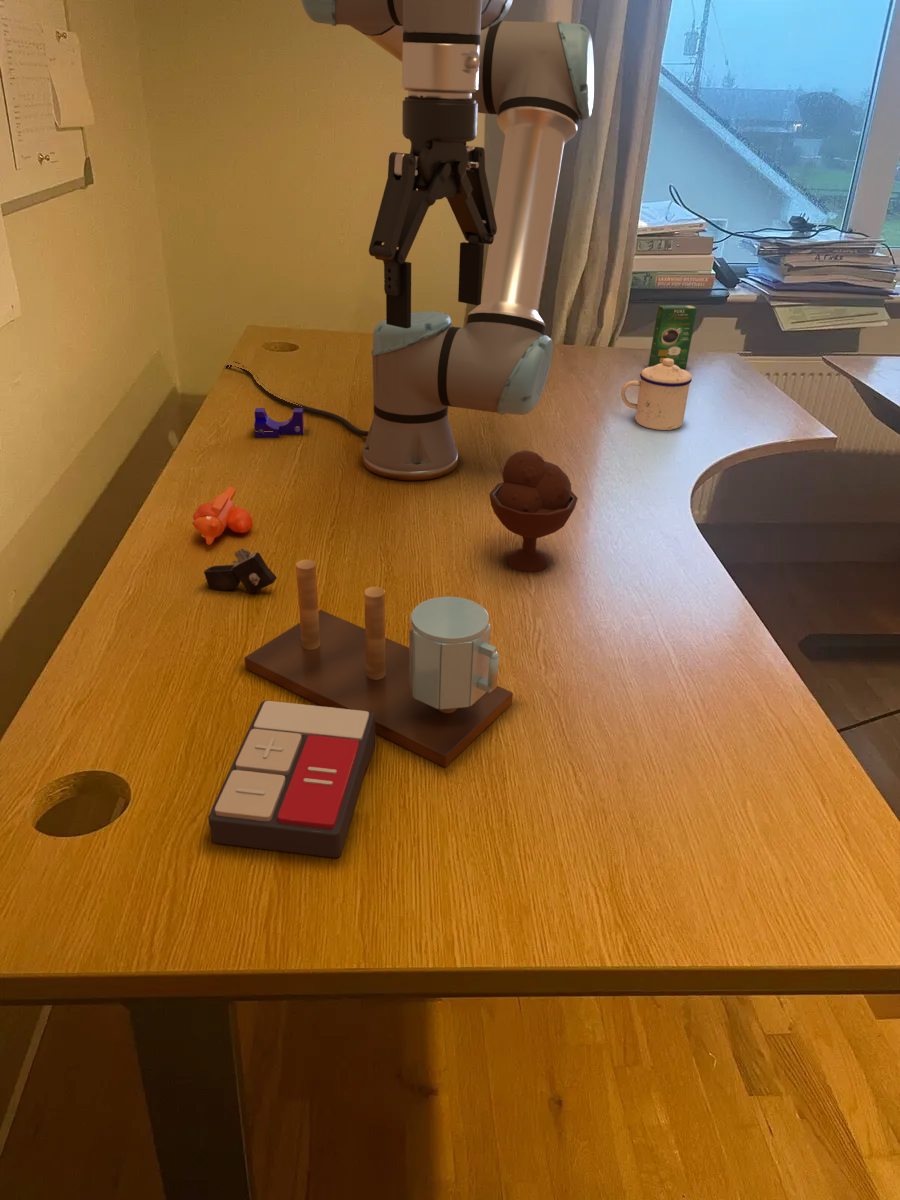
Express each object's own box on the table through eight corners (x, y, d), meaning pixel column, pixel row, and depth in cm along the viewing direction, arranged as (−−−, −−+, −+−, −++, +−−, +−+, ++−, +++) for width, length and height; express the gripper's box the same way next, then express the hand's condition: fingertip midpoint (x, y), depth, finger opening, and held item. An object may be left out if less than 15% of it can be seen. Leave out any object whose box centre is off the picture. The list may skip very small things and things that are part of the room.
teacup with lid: (682, 416, 167) (692, 354, 161) (685, 433, 159) (696, 368, 153) (617, 410, 168) (625, 349, 162) (617, 427, 160) (626, 363, 154)
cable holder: (255, 437, 151) (253, 414, 149) (257, 430, 154) (255, 407, 152) (302, 437, 152) (301, 415, 150) (304, 430, 155) (302, 408, 153)
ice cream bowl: (502, 587, 111) (510, 476, 103) (476, 546, 120) (482, 440, 112) (581, 578, 113) (595, 468, 106) (550, 538, 123) (560, 435, 115)
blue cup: (395, 690, 86) (395, 620, 81) (438, 655, 91) (440, 588, 87) (474, 726, 81) (478, 654, 77) (514, 688, 86) (520, 619, 82)
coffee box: (681, 365, 195) (692, 303, 188) (687, 369, 193) (698, 306, 186) (647, 366, 193) (656, 304, 186) (653, 370, 191) (662, 307, 184)
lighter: (221, 609, 109) (195, 576, 107) (228, 601, 111) (202, 568, 109) (271, 585, 106) (245, 550, 104) (277, 577, 107) (252, 542, 105)
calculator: (204, 812, 72) (261, 692, 84) (211, 848, 74) (265, 726, 86) (338, 828, 71) (375, 704, 83) (340, 864, 73) (376, 738, 85)
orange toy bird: (215, 473, 124) (188, 511, 113) (267, 492, 125) (245, 531, 114) (207, 504, 126) (181, 543, 116) (258, 522, 127) (236, 562, 117)
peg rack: (245, 668, 95) (234, 575, 89) (320, 620, 103) (316, 532, 97) (445, 768, 82) (448, 667, 76) (512, 703, 91) (520, 608, 85)
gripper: (393, 99, 77) (393, 343, 89) (536, 95, 95) (521, 299, 106) (327, 94, 81) (336, 330, 92) (477, 92, 99) (469, 289, 110)
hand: (435, 314), depth 99 cm, fingers open, 13 cm apart
